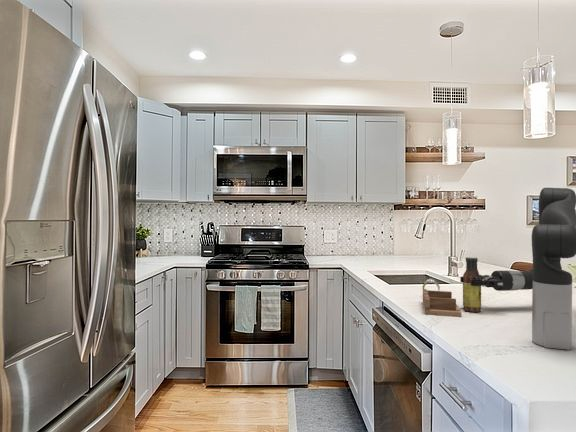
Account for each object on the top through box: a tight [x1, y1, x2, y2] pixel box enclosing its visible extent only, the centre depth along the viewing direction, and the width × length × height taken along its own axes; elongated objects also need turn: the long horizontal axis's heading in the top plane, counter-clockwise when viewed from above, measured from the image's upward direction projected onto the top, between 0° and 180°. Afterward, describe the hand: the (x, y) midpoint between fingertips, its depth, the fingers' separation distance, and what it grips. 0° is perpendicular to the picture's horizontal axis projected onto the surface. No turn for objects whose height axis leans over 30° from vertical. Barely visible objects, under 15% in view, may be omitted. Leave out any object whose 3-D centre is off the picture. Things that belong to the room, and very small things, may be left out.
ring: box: [422, 278, 441, 291], centre depth 171 cm, size 7×3×8 cm, turn 58°
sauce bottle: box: [462, 256, 482, 313], centre depth 147 cm, size 7×6×20 cm
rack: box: [422, 288, 462, 318], centre depth 150 cm, size 20×12×6 cm, turn 164°
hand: (466, 281), depth 147 cm, fingers closed on sauce bottle, 6 cm apart
